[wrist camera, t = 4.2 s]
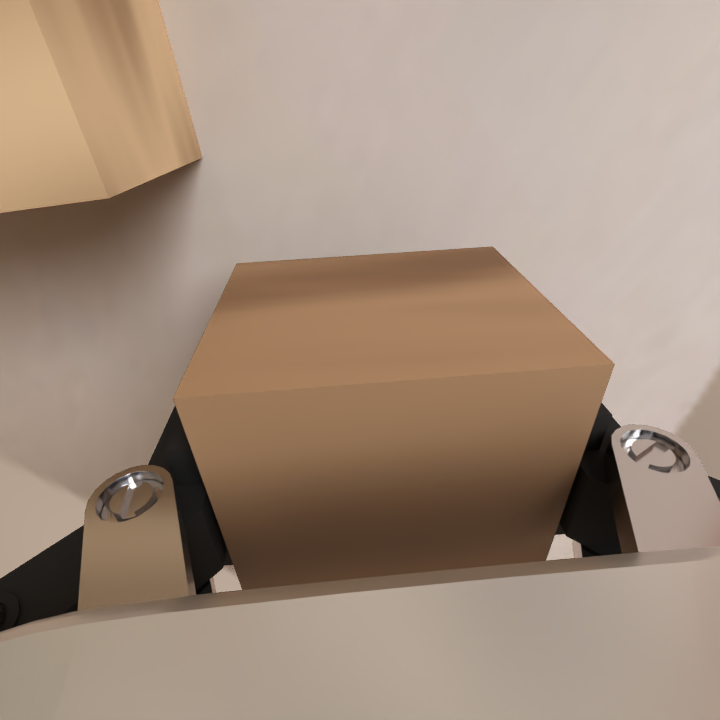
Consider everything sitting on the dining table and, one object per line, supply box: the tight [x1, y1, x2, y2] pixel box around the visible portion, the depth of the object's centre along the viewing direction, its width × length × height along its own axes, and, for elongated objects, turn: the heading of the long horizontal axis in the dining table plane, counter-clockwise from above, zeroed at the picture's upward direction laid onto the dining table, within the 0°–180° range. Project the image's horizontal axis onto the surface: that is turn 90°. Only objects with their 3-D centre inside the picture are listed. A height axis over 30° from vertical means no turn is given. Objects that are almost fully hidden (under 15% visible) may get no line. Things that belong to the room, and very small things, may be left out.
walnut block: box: [173, 247, 615, 590], centre depth 9 cm, size 6×6×5 cm
